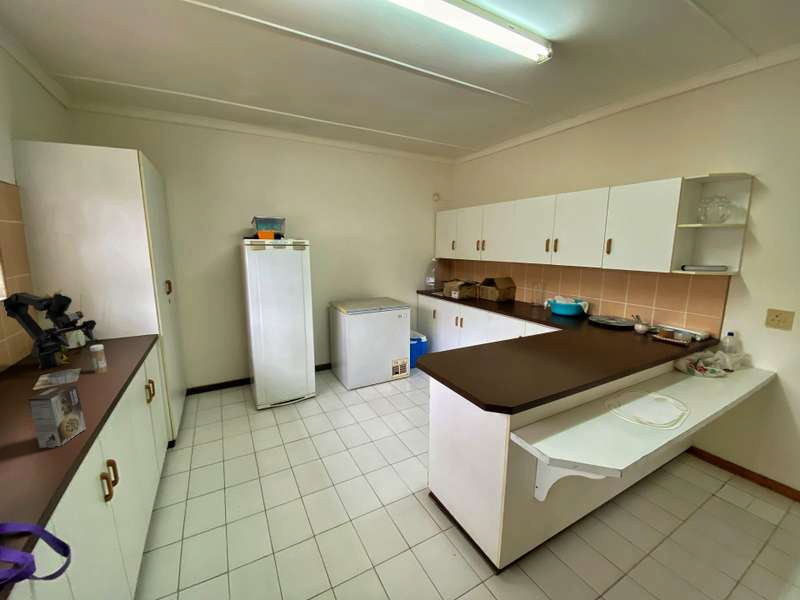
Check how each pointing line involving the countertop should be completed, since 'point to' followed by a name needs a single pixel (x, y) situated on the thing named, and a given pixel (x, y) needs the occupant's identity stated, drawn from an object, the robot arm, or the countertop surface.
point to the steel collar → (62, 376)
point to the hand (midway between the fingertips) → (81, 343)
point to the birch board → (44, 381)
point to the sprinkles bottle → (98, 358)
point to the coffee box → (57, 415)
